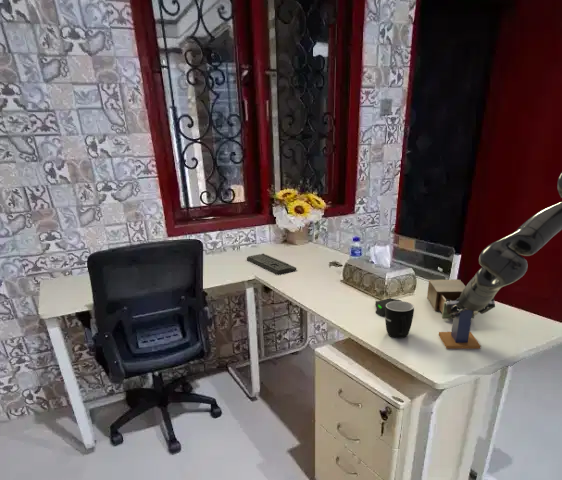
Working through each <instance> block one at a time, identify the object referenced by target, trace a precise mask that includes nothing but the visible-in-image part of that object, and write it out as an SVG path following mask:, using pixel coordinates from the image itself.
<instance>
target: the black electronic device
mask: <svg viewBox="0 0 562 480" xmlns="http://www.w3.org/2000/svg"><path fill="white" fill-rule="evenodd" d="M392 301H402V300H401V299H396V298H392V297H389V298H385V299H382V300H375V301H374V302H375V303H374V305H375V308H376V310H375V313H376V315H377V316H379V317H382V318H385V307H386V304H387V303H389V302H392Z"/></svg>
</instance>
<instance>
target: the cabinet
mask: <svg viewBox="0 0 562 480" xmlns="http://www.w3.org/2000/svg"><path fill="white" fill-rule="evenodd" d="M466 286H467V285H465V284H464V282H463V281H461V279H429V280H428V285H427V293H426V294H427V296H426V299H427V301H428V302H429V304H430V306H431V308H432V309H433V311H434V312H441V311H440V309H439V308H438V298H439V294H458V293H462V291H463V290H464V288H465V287H466Z"/></svg>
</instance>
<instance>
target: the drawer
mask: <svg viewBox="0 0 562 480" xmlns="http://www.w3.org/2000/svg"><path fill="white" fill-rule="evenodd" d="M460 295H461V293H458V294H439V298H438V308H439V309H440V311H439V312H441V314H442V315H441V318H442V319H443V320H448V319H450V320H453V318H451V317H450V314H447V306H446V299H450V301H451V300H452V301H456V299H457V298H459V297H460ZM472 319H475V316H473V317H472Z"/></svg>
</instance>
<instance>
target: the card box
mask: <svg viewBox="0 0 562 480" xmlns="http://www.w3.org/2000/svg"><path fill="white" fill-rule="evenodd" d="M472 313H473V311H472V310H465V311H464V312H462V313H458V314H457V315H456V316H455V318H453V319H452V325H451V326H452V327H451V331H450V332H451V336H452V337H453V339H454V340H455V342H456V343H467V342H468V337H469V332H471V331H470V330H471V325H472V319H473V318H472Z"/></svg>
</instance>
